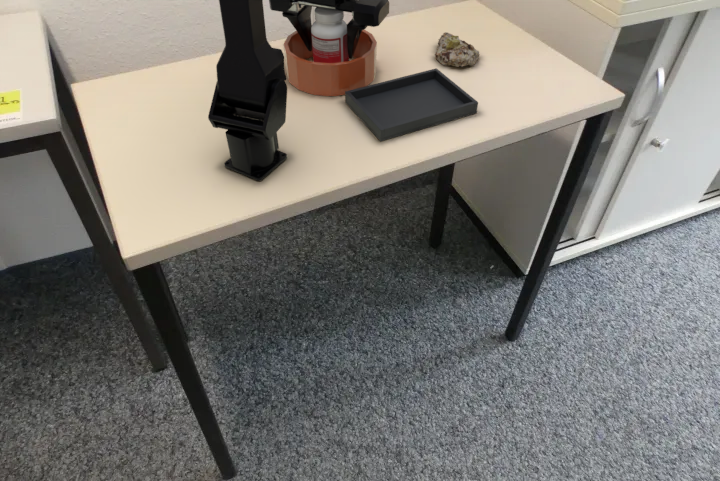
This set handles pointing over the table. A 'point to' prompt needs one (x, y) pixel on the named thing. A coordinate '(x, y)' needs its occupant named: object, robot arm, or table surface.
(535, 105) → the table surface
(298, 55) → the pot
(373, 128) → the tray
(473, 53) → the mineral rock
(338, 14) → the pill bottle
